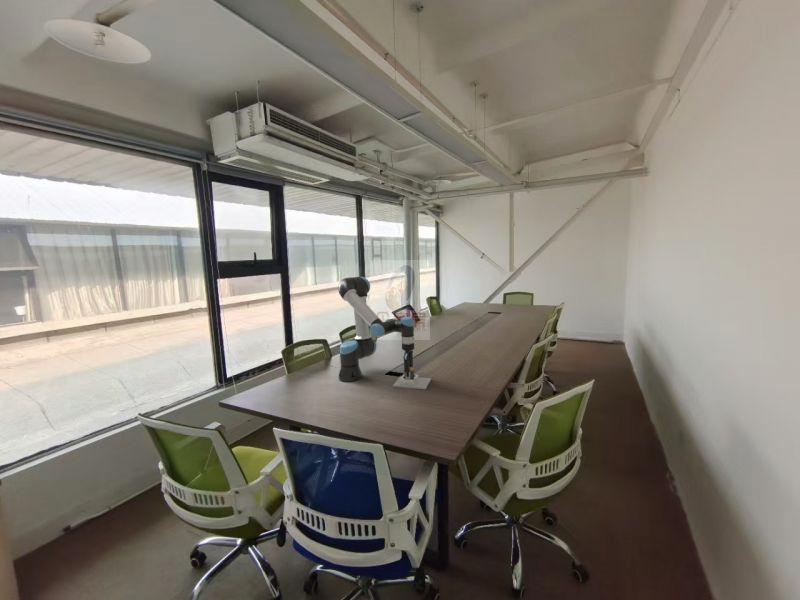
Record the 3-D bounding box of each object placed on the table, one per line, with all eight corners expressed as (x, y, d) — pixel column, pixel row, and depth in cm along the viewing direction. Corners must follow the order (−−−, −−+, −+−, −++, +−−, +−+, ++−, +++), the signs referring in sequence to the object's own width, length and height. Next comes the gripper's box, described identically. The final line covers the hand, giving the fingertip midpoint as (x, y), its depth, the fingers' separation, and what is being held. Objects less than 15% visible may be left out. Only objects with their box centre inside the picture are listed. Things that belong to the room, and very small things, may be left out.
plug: (404, 381, 203) (404, 369, 202) (406, 379, 206) (405, 367, 205) (412, 382, 201) (412, 369, 200) (414, 380, 205) (413, 367, 204)
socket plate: (392, 386, 199) (392, 380, 198) (400, 377, 214) (400, 371, 213) (425, 389, 193) (425, 382, 192) (431, 379, 208) (431, 373, 208)
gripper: (410, 346, 192) (411, 386, 195) (417, 339, 208) (418, 376, 211) (397, 346, 194) (399, 385, 197) (405, 339, 210) (406, 375, 213)
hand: (409, 380), depth 204 cm, fingers closed on plug, 4 cm apart
